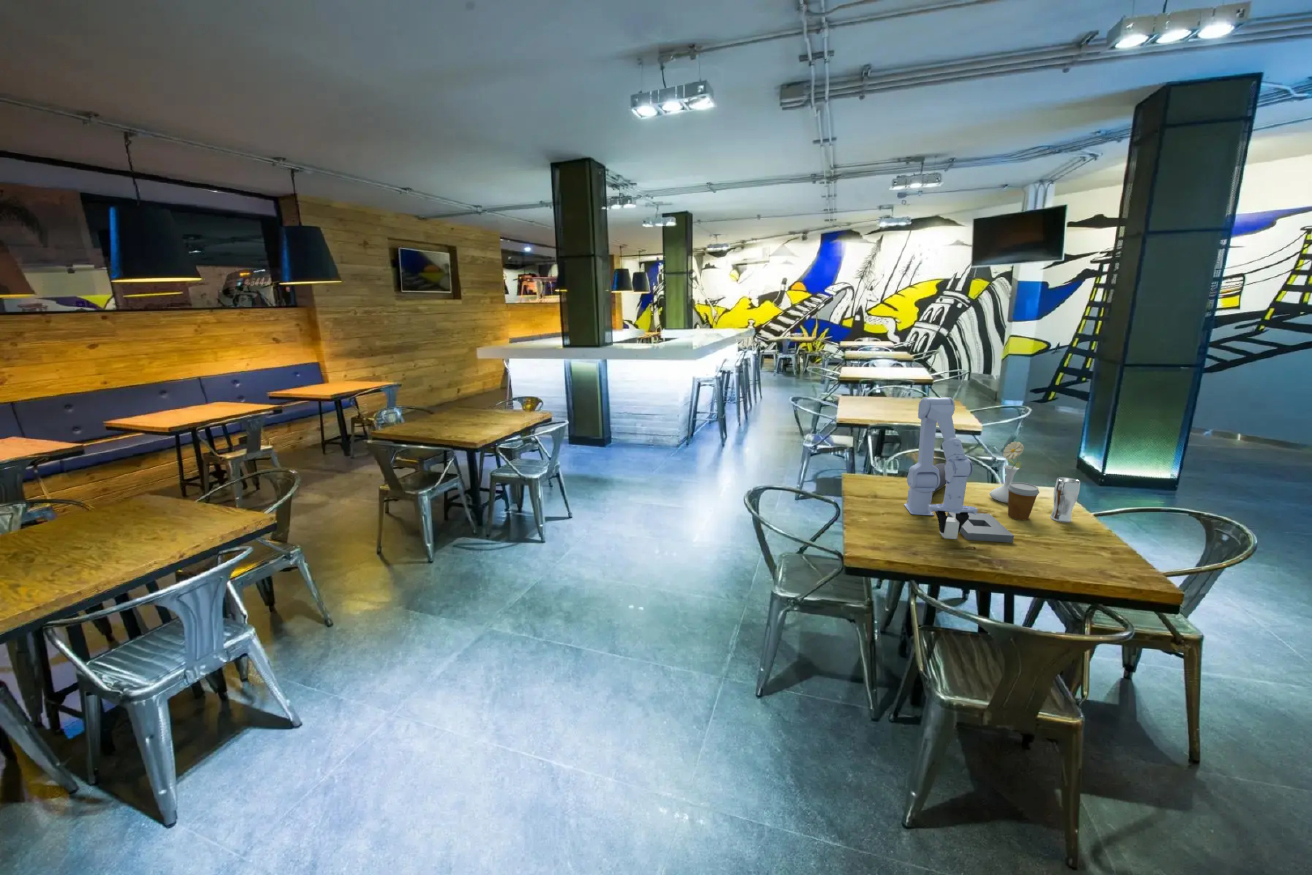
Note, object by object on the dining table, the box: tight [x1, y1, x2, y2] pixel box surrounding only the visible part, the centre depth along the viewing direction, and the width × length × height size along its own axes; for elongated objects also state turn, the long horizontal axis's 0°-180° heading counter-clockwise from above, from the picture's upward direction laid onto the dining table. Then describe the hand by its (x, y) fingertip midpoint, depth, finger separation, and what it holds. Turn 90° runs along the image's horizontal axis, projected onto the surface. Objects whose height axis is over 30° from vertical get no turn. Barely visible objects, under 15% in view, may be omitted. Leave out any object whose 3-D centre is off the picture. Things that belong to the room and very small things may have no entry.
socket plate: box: [946, 512, 1015, 544], centre depth 179 cm, size 18×14×2 cm
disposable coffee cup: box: [1007, 481, 1040, 521], centre depth 188 cm, size 10×10×12 cm
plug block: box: [939, 517, 960, 540], centre depth 174 cm, size 4×4×6 cm
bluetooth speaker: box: [933, 462, 947, 494], centre depth 215 cm, size 23×9×10 cm, turn 133°
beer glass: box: [1050, 476, 1081, 524], centre depth 185 cm, size 7×7×15 cm
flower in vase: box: [989, 440, 1025, 504], centre depth 201 cm, size 13×11×25 cm
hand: (948, 532), depth 174 cm, fingers closed on plug block, 4 cm apart
